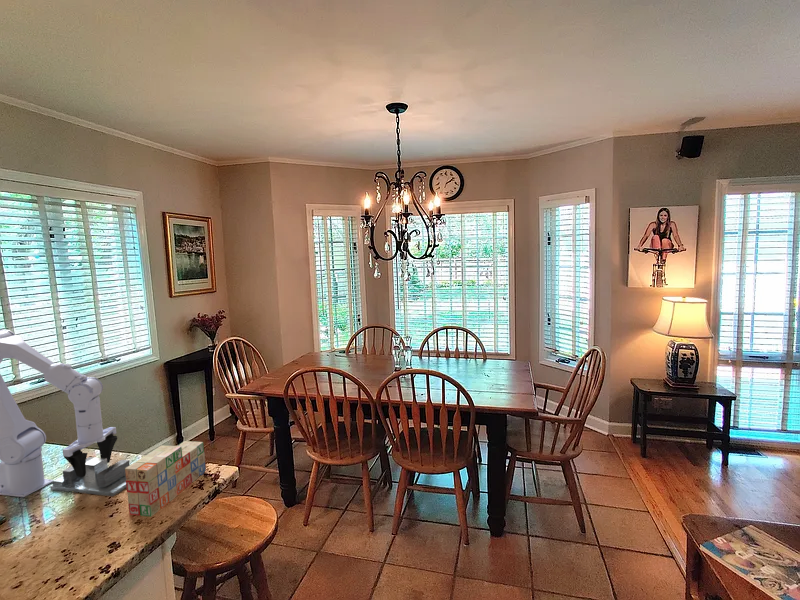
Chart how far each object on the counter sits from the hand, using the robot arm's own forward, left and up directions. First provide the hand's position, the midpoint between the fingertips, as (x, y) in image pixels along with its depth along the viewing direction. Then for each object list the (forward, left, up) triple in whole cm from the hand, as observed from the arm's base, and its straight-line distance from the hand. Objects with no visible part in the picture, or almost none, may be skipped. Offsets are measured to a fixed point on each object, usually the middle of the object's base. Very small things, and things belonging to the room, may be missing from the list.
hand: (93, 468), depth 116 cm
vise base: (+2, 0, -4) cm, 4 cm away
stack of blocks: (+25, -1, -4) cm, 25 cm away
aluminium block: (0, 0, -3) cm, 3 cm away
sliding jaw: (+7, 0, -2) cm, 7 cm away
